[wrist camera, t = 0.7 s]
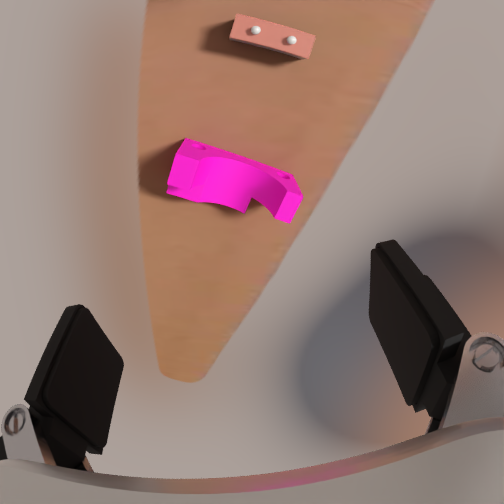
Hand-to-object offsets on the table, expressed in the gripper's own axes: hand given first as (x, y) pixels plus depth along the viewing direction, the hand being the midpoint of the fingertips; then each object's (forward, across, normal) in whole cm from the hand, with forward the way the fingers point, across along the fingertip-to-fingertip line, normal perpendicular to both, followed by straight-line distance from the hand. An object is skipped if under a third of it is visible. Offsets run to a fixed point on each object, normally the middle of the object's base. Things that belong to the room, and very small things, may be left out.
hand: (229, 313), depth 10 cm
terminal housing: (+32, -7, -11) cm, 35 cm away
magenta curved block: (+33, +1, +6) cm, 34 cm away
